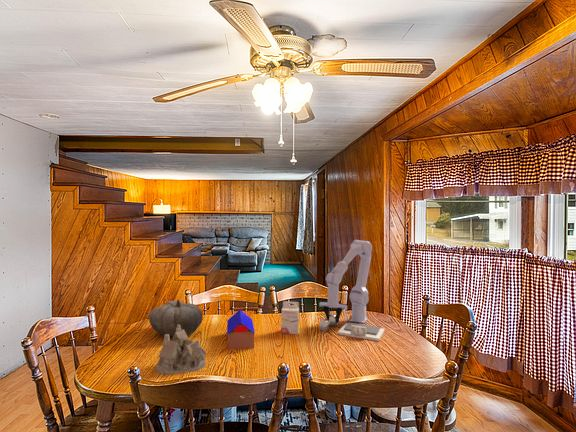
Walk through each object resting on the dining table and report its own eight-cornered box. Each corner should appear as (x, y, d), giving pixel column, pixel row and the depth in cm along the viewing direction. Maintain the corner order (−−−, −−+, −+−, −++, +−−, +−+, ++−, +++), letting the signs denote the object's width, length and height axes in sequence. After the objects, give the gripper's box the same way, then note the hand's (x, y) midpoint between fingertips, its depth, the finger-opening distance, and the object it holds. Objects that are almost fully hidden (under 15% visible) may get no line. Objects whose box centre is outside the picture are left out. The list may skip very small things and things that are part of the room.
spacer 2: (330, 322, 186) (330, 313, 186) (338, 324, 184) (338, 314, 184) (327, 325, 182) (327, 315, 182) (335, 326, 180) (335, 316, 180)
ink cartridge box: (280, 333, 171) (281, 303, 171) (281, 330, 176) (282, 301, 176) (298, 334, 170) (298, 304, 170) (298, 330, 175) (299, 301, 175)
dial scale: (345, 325, 184) (346, 315, 184) (384, 331, 176) (384, 320, 176) (337, 334, 171) (337, 323, 171) (379, 341, 162) (379, 330, 162)
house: (226, 350, 151) (227, 323, 150) (227, 333, 170) (227, 309, 170) (254, 348, 153) (255, 322, 152) (251, 332, 172) (252, 309, 172)
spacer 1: (321, 327, 180) (321, 318, 180) (329, 329, 178) (329, 319, 178) (318, 330, 176) (318, 320, 176) (326, 331, 174) (326, 321, 174)
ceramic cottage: (149, 368, 132) (152, 329, 131) (184, 355, 145) (187, 319, 145) (176, 383, 123) (180, 341, 123) (210, 367, 137) (214, 329, 136)
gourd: (143, 339, 153) (148, 299, 156) (149, 330, 177) (153, 295, 180) (201, 340, 160) (205, 302, 163) (199, 331, 184) (203, 297, 186)
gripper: (317, 295, 182) (317, 321, 183) (344, 299, 176) (344, 325, 177) (322, 293, 189) (321, 317, 189) (348, 296, 183) (347, 321, 183)
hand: (332, 321), depth 183 cm, fingers closed on spacer 2, 4 cm apart
